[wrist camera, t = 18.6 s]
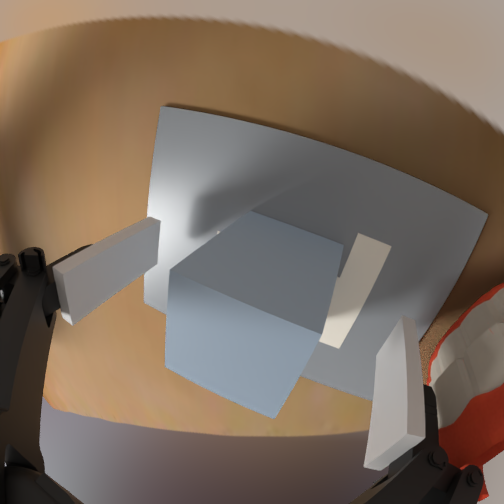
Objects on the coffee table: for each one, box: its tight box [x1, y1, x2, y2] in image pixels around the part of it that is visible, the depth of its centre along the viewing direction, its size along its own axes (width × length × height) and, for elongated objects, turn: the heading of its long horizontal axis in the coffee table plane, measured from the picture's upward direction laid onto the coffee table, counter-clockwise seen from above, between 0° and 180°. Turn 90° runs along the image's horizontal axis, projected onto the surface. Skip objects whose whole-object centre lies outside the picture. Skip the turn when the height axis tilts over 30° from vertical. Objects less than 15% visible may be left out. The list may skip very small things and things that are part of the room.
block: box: [165, 211, 344, 419], centre depth 13 cm, size 5×5×7 cm
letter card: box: [144, 106, 488, 401], centre depth 16 cm, size 18×14×1 cm
